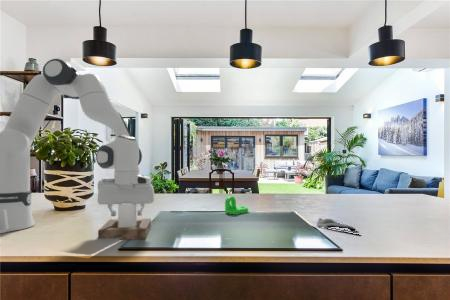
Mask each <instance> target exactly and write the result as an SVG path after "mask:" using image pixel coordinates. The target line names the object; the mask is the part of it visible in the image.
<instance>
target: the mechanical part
mask: <svg viewBox="0 0 450 300" xmlns="http://www.w3.org/2000/svg"><path fill="white" fill-rule="evenodd" d="M224 204H225V205H224V213H225V214H227V213H229V214H228V215H231V214H233V215H232V216H235V215H234V214H236V215H239V214H240V213H241V214H246V213H249V207H248V206H244V205H240V206H237V201H236V198H235V197H234V196H227V197H226V198H225V203H224Z"/></svg>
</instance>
